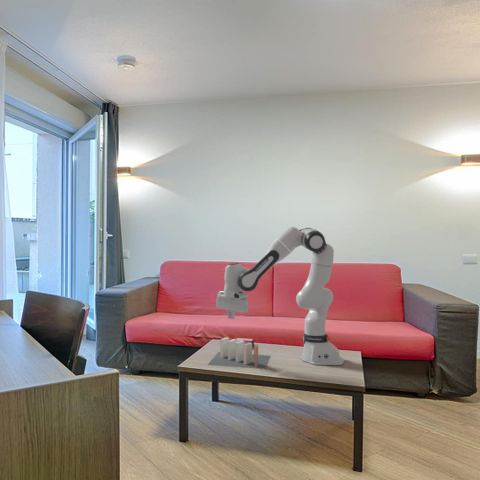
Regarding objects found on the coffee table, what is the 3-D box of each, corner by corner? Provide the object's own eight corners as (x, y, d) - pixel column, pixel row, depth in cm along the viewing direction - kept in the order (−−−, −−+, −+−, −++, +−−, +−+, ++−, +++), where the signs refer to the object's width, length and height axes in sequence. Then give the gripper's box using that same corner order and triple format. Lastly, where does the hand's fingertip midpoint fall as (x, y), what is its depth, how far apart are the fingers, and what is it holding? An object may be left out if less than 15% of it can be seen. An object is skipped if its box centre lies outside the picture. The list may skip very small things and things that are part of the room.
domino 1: (220, 357, 207) (220, 339, 208) (226, 355, 211) (226, 337, 211) (222, 357, 206) (222, 339, 207) (228, 355, 210) (228, 337, 210)
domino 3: (235, 361, 200) (235, 342, 200) (241, 359, 204) (241, 340, 204) (237, 362, 199) (238, 343, 199) (243, 360, 203) (244, 341, 203)
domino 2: (227, 359, 204) (228, 340, 204) (234, 357, 208) (234, 339, 208) (230, 360, 203) (230, 341, 203) (236, 358, 207) (236, 339, 207)
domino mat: (270, 356, 212) (270, 355, 212) (265, 370, 189) (265, 369, 189) (218, 353, 217) (218, 352, 217) (207, 365, 195) (207, 364, 195)
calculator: (230, 344, 224) (236, 337, 239) (230, 351, 224) (236, 343, 239) (249, 345, 222) (253, 338, 236) (249, 353, 222) (253, 345, 237)
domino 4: (243, 363, 197) (243, 344, 197) (249, 361, 201) (249, 342, 201) (245, 364, 196) (246, 345, 196) (252, 362, 199) (252, 343, 200)
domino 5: (254, 366, 192) (255, 346, 192) (254, 363, 197) (254, 344, 197) (258, 366, 192) (258, 346, 192) (257, 363, 197) (257, 344, 197)
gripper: (213, 291, 209) (212, 316, 209) (242, 296, 196) (241, 322, 196) (221, 290, 213) (220, 314, 214) (250, 294, 201) (249, 321, 201)
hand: (231, 318), depth 205 cm, fingers closed
